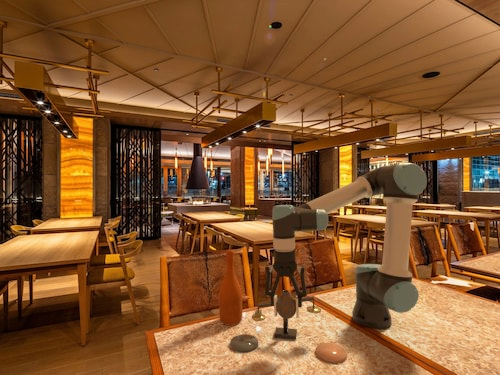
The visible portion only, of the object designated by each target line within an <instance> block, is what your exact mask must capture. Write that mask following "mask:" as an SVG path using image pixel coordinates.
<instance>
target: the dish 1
mask: <svg viewBox="0 0 500 375" xmlns="http://www.w3.org/2000/svg"><path fill="white" fill-rule="evenodd" d="M229 346H230V348H231V349H232V350H233V351H235V352H238V353H249V352H253V351H254V350H256V349H257V348H258V346H259V340H258V338H257V337H256V336H254V335H253V334H252V335H251V334H245V333H243V334H242V333H241V334H237V335H235V336H233V337H232V338H231V339H230V345H229Z"/></svg>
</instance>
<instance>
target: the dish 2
mask: <svg viewBox="0 0 500 375" xmlns="http://www.w3.org/2000/svg"><path fill="white" fill-rule="evenodd" d="M315 354H316V356H317V357H318V359H320V360H322V361H324V362H327V363H332V364H340V363H343V362H345V361H346V360H347V358H348V352H347V350H346V349H345V348H344V347H343V346H341V345H339V344H337V343H334V342H333V343H332V342H322V343H319V344H317V345H316V347H315Z"/></svg>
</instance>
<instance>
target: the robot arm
mask: <svg viewBox="0 0 500 375" xmlns="http://www.w3.org/2000/svg"><path fill="white" fill-rule="evenodd" d="M427 183H428V179H427V175H426V173H425V171H424V170H423V169H422V167H421V166H420V165H418V164H416V163H412V162H400V163H396V164H391V165H390V164H389V165H383V166H380V167H377V168H375V169H373V170H371V171H368V172H366V173H365V174H363V175H359V176H358V177H357V178H356V180H355V181H353V182H350V183H348V184H346V185H344V186H341V187H339V188H337V189H335V190H333V191H330V192H328V193H325V194H324V195H322V196H319V197H317V198H314V199H312V200H310V201H308V202H306V203H304V204H300V205H299V206H294V205H291V204H278V205H274V206H273V207H272V218H271V219H272V235H273V236H272V237H273V238H272V241H273V242H272V243H273V245H272V246H273V249H274V250H273V264H271V265H270V264H267V265H266V267H265V268H264V269H265V271H266V276H265V278H266V279H265V292H264V294H265V295H266V296H269V297H270V302H271V306H270V307H273V313H274V314H273V315H274V316H273V317H277V316H278V315H279V314H278V312H277V306H276V304H277V300H278V294H276V292H277V288H278V285H279V282H280V278H283V277H284V278H285V277H286V278H289V280H290V281H291V284H292V286H293V289H294V291H295V294H296V296H295V299H296V313H295V316H296V318H295V319H299V318H300V308H302V306H303V302H302V298H306V297H308V296H307V295H308V292H307V286H306V280H305V279H306V278H305V270H306V267H305V266H304V265H302V266H300V265H298V264H297V261H296V250H295V248H296V232H297V233H298V232H312V231H314V232H315V231H316V232H317V231H322V230H323V231H325V230H326V229H327V227H328V225H329V216H328V214H330V213H334V212H335V211H337V210H339V209H342V208H344V207H346V206H348V205H351V204H353V203H355V202H357V201H359V200H361V199H364V198H366V199H370V198H372V197H374V196H379V195H380V196H381V195H382V198H383V199H384V201H385V202H386V208H385V210H386V212H385V226H384V236H383V237H384V238H383V250H382V262H381V264H377V263H363V264H358V265H356V267H355V273H354V274H355V294H356V295H355V296H356V297H355V303H354V306H353V309H352V314H351V315H352V316H351V317H352V320H353V322H355V323H357V324H358V325H361V326H364V327H365V328H371V329H386V328H388V327H391V326H392V323H393V322H392V321H393V319H392V315H391V312H390V310H391V311H393V312H394V313H395V312H396V313H398V314H400V313H401V314H403V313H404V314H405V313H407V312H409V311H411V310H412V308H413V309H414V308H415V306H416V305H417V303H418V301H419V290H418V288H417V287H416V285H415V284H414V283H413V274H412V272H410V271H409V259H410V248H411V247H410V245H411V234H412V218H413V207H414V206H413V205H414V204H415V203H417V202H418V201H419V195H420V194H422V193H423V191H424V190H425V189H426V188H427ZM273 269H274V271H275V273H276V277H275V280H274V284H273V287H272V289H271V279H272V277H271V276H272V272H273ZM296 271H297V272H298V273H299V278H300V282H301V283H300V284H301V289H300V286H299V284H298V282H297V279H296V277H295V272H296Z"/></svg>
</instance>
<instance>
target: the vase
mask: <svg viewBox="0 0 500 375" xmlns="http://www.w3.org/2000/svg"><path fill="white" fill-rule="evenodd" d="M295 299H296V298H294V296H293V295H292V294H291V292H290V290H288V289H284V290H282V291H281V294H280V295H279V296H278V297H277V304H276V306H277V312H278V314H277V315H279V317H281V318H282V319H283V318H284V319H288V320H289V319H292V318H293V317H294V316H296V301H295Z"/></svg>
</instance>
